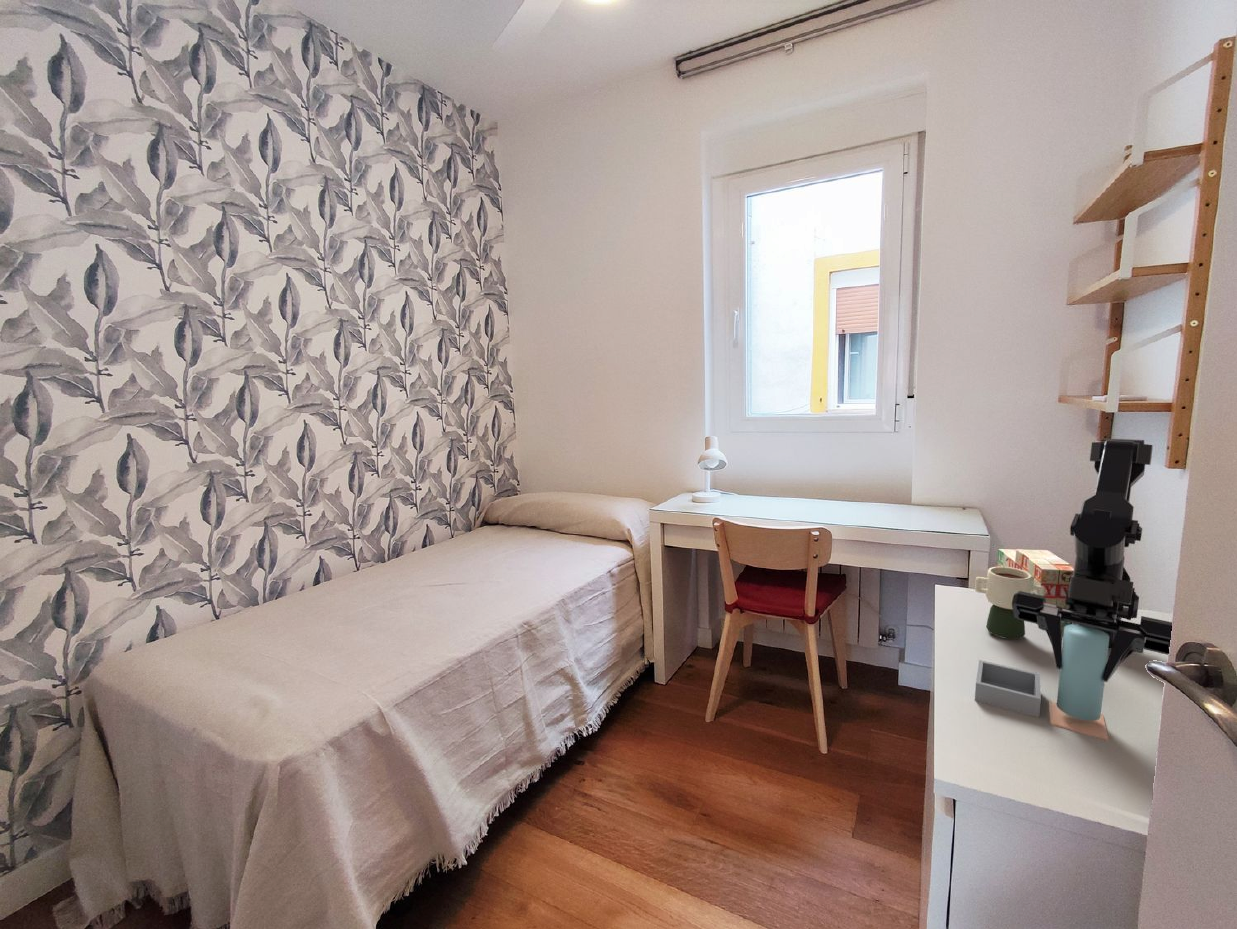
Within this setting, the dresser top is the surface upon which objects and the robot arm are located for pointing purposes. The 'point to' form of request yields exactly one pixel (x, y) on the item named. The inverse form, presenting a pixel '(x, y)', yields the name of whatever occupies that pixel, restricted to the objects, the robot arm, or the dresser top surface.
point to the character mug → (1005, 599)
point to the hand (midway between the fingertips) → (1081, 674)
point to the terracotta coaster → (1077, 723)
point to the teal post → (1082, 672)
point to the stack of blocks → (1041, 572)
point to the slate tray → (1008, 688)
